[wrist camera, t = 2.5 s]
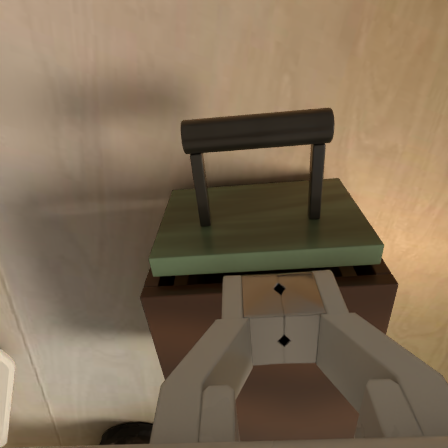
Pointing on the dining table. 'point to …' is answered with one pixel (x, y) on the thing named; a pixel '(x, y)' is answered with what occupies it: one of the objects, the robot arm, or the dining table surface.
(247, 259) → the drawer
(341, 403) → the cabinet
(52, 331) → the dining table surface
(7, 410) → the plate
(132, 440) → the container
